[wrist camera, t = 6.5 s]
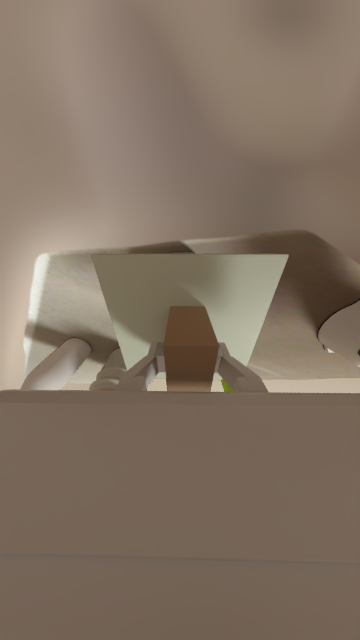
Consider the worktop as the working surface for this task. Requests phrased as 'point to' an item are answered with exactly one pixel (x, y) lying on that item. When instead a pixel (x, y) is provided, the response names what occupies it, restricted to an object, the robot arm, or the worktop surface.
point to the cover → (188, 308)
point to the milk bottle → (58, 366)
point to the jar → (110, 373)
